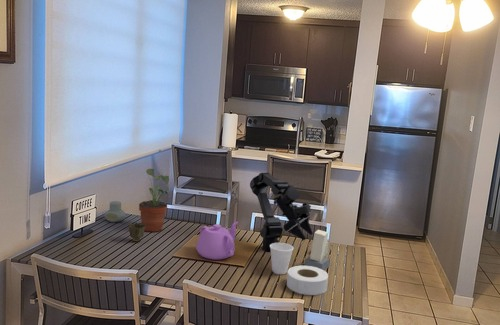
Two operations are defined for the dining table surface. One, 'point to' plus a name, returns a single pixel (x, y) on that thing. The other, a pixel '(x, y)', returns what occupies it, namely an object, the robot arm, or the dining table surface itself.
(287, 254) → the cup
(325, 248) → the sage block
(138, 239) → the cup
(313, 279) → the roll of tape
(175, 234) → the dining table surface
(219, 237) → the teapot
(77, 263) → the dining table surface
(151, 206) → the potted plant
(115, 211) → the air freshener
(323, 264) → the base block
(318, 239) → the cream block
